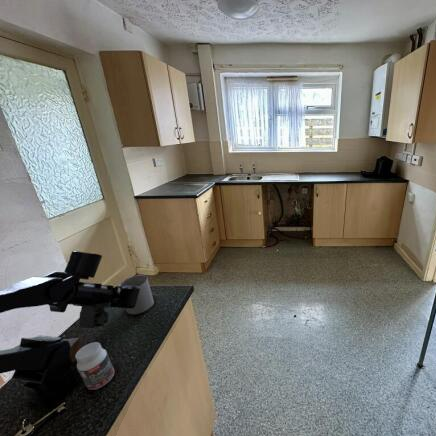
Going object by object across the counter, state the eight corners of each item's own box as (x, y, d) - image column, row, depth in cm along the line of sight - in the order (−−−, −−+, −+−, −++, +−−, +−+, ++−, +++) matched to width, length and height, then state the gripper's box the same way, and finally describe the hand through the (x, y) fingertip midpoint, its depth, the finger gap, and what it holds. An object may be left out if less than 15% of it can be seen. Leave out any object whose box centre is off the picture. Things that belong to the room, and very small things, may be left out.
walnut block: (73, 363, 64) (66, 351, 62) (55, 365, 64) (49, 353, 62) (84, 348, 68) (79, 337, 67) (68, 350, 68) (62, 339, 66)
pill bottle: (97, 393, 56) (82, 364, 53) (81, 386, 58) (65, 358, 54) (120, 371, 61) (108, 343, 58) (105, 365, 63) (91, 337, 59)
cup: (139, 316, 79) (131, 291, 76) (120, 311, 81) (112, 287, 78) (159, 300, 87) (153, 276, 83) (141, 296, 89) (135, 273, 85)
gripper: (40, 324, 61) (93, 323, 76) (105, 328, 59) (146, 326, 73) (58, 280, 65) (105, 287, 80) (119, 282, 63) (156, 289, 78)
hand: (127, 298), depth 78 cm, fingers closed, pressing on cup
